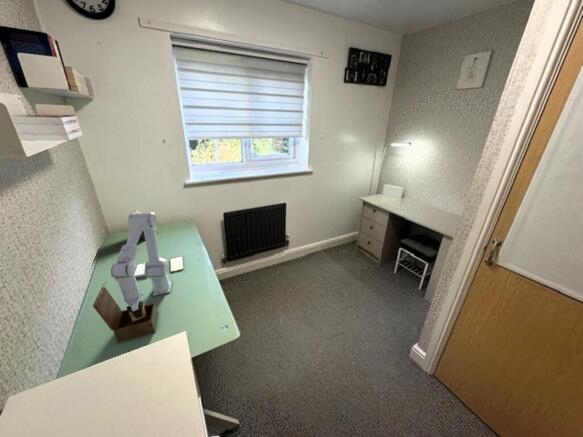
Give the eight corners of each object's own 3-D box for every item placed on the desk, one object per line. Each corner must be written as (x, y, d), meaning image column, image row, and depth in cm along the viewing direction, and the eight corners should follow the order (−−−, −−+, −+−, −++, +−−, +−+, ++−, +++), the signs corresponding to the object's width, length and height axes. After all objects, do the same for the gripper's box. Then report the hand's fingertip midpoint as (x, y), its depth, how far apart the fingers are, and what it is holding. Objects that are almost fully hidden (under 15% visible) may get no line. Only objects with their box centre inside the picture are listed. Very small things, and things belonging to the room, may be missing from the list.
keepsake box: (158, 313, 110) (154, 302, 108) (154, 332, 100) (151, 321, 98) (124, 321, 106) (120, 311, 103) (118, 342, 96) (113, 331, 93)
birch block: (145, 309, 105) (142, 300, 103) (146, 316, 101) (143, 307, 99) (132, 313, 103) (129, 305, 101) (132, 321, 99) (129, 312, 97)
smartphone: (182, 256, 153) (183, 268, 141) (182, 256, 153) (183, 269, 141) (170, 258, 150) (170, 271, 138) (170, 259, 150) (170, 272, 138)
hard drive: (149, 273, 135) (152, 261, 146) (132, 276, 132) (137, 264, 143) (149, 275, 136) (152, 263, 146) (133, 278, 133) (137, 266, 144)
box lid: (104, 285, 97) (102, 286, 96) (94, 305, 87) (92, 305, 87) (121, 309, 103) (119, 310, 103) (114, 330, 93) (111, 331, 93)
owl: (147, 240, 173) (140, 215, 165) (132, 239, 175) (124, 214, 166) (158, 232, 184) (152, 209, 176) (143, 231, 186) (137, 208, 178)
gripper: (143, 293, 93) (151, 319, 98) (139, 275, 104) (146, 299, 109) (121, 301, 89) (131, 327, 95) (119, 281, 100) (128, 305, 105)
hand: (138, 312), depth 102 cm, fingers closed on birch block, 5 cm apart
